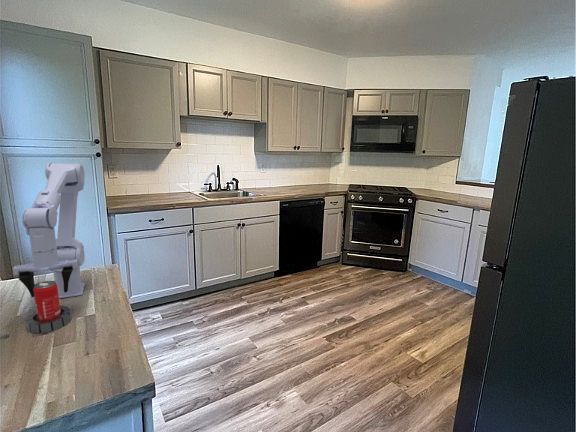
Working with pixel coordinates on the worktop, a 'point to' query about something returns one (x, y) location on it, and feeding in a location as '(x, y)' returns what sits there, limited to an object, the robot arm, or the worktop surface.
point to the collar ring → (50, 325)
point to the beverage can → (47, 301)
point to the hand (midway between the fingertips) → (50, 293)
